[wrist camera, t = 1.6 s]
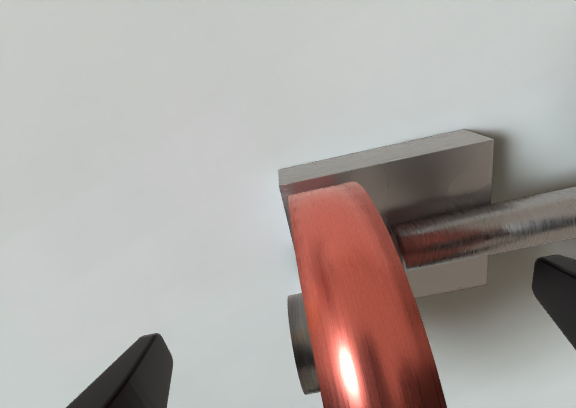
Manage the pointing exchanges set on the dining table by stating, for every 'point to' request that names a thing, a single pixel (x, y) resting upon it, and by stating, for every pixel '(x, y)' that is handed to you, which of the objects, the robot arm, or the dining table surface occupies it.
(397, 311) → the red disc wheel
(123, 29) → the dining table surface
